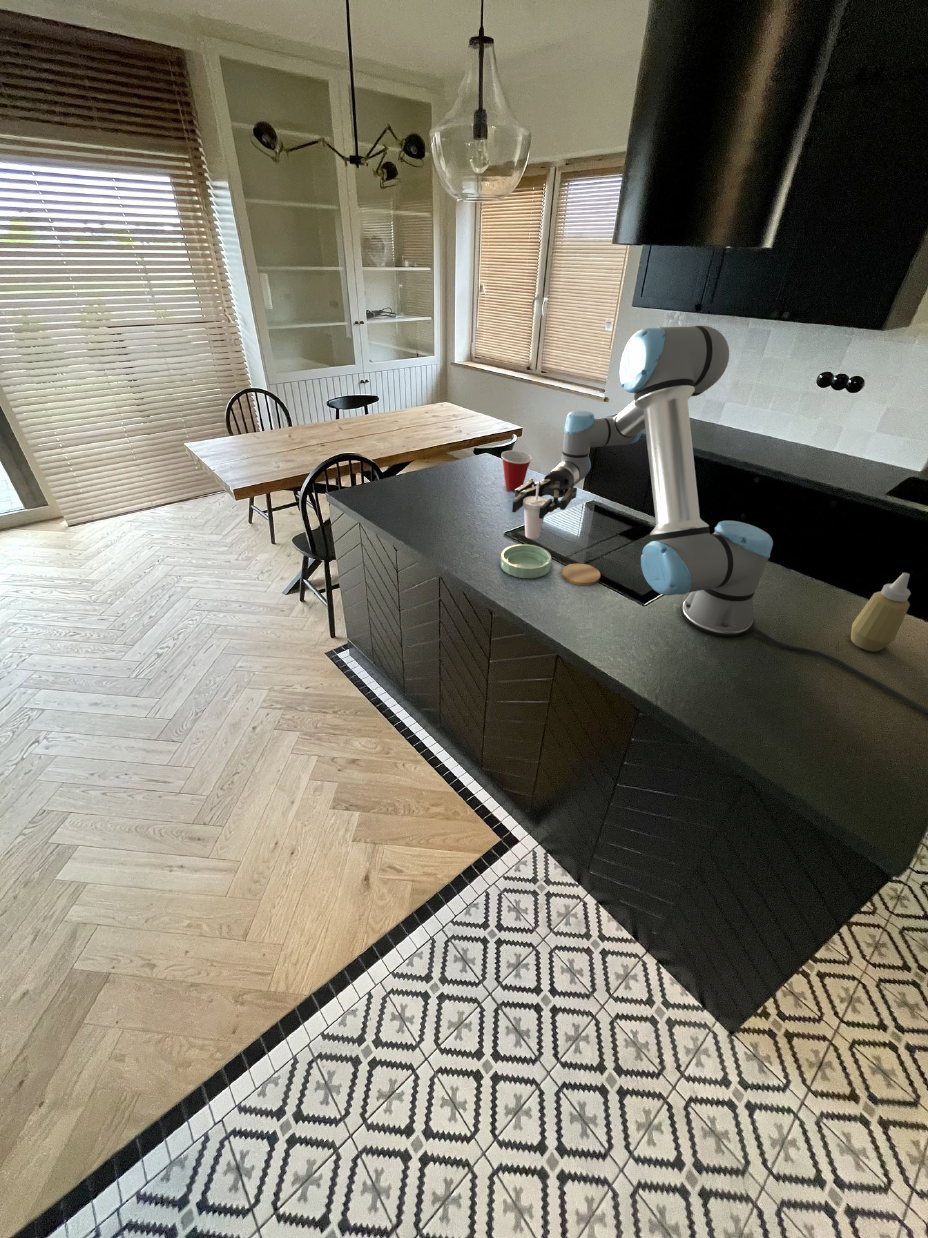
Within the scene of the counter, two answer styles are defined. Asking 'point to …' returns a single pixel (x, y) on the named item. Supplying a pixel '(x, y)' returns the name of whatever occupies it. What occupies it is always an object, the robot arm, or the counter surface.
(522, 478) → the plastic cup
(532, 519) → the smoothie
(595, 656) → the counter surface
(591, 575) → the coaster
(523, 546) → the bowl
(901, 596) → the squeeze bottle
